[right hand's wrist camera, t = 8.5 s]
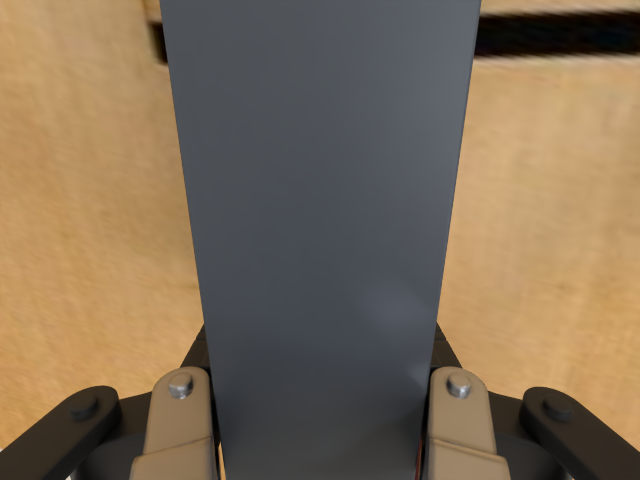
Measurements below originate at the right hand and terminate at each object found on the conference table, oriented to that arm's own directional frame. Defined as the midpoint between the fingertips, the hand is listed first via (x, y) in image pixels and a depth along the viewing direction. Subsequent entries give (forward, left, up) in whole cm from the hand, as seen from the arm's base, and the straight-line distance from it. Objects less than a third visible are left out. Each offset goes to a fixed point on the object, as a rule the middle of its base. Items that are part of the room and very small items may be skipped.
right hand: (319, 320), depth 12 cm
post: (+24, -11, -4) cm, 27 cm away
